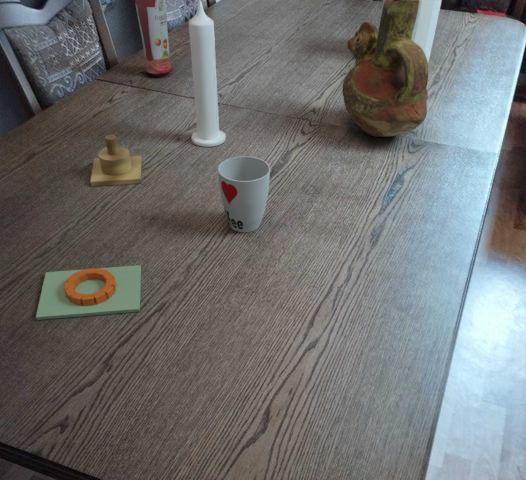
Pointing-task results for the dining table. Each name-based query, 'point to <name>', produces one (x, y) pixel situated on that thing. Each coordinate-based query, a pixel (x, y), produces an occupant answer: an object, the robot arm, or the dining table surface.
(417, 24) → the container
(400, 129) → the ceramic vessel
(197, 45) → the candle
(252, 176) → the cup
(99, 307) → the mat
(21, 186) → the dining table surface
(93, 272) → the ring
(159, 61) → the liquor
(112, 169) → the stand
